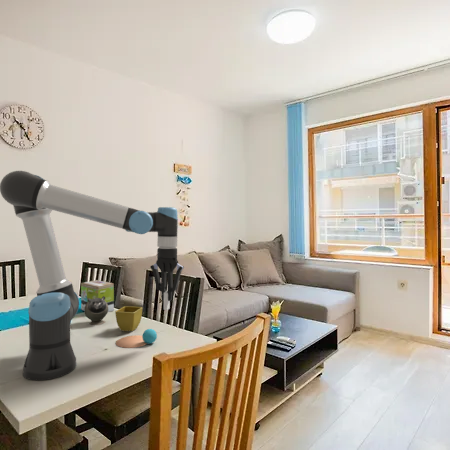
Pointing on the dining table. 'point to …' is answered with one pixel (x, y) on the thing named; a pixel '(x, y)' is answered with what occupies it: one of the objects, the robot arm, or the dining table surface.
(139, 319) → the flower pot
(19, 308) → the dining table surface
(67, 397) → the dining table surface
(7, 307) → the dining table surface
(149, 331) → the ball
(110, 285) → the tea box
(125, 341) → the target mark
